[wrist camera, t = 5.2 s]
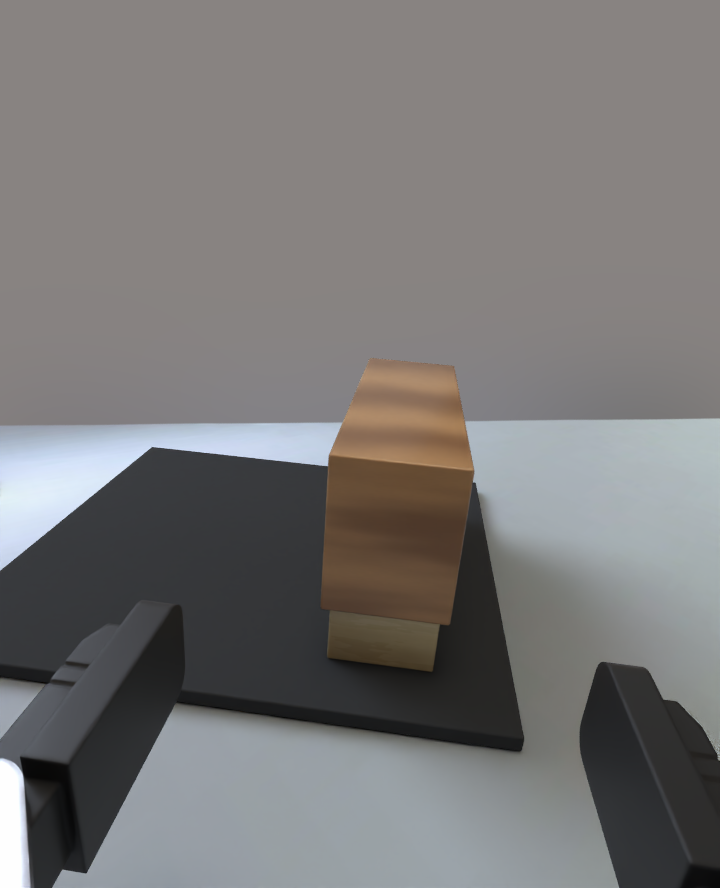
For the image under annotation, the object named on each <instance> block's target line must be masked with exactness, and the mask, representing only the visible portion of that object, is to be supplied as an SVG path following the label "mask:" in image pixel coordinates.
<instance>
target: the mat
mask: <svg viewBox="0 0 720 888" xmlns="http://www.w3.org/2000/svg"><path fill="white" fill-rule="evenodd" d="M327 479H328V466H319V465H310V464H301V463H292V462H283V461H274V460H264V459H255V458H246V457H237V456H228V455H219V454H210V453H201V452H192V451H183V450H174V449H165V448H156V447H152V448H151V449H149V450H148V451H147V452H146V453H144V454H143V455H142V456H141V457H140V458H138V459H137V460H136V461H135V462H133V463H132V464H131V465H130V466H128V467H127V468H126V469H125V470H124V471H122V472H121V473H120V474H119V475H117V476H116V477H115V478H114V479H112V480H111V481H110V482H109V483H108V484H106V485H105V486H104V487H103V488H101V489H100V490H99V491H98V492H97V493H95V494H94V495H93V496H92V497H90V498H89V499H88V500H87V501H85V502H84V503H83V504H82V505H81V506H79V507H78V508H77V509H76V510H74V511H73V512H72V513H71V514H69V515H68V516H67V517H66V518H65V519H63V520H62V521H61V522H60V523H58V524H57V525H56V526H55V527H54V528H52V529H51V530H50V531H49V532H47V533H46V534H45V535H44V536H42V537H41V538H40V539H39V540H38V541H36V542H35V543H34V544H33V545H31V546H30V547H29V548H28V549H27V550H25V551H24V552H23V553H22V554H20V555H19V556H18V557H17V558H15V559H14V560H13V561H12V562H11V563H9V564H8V565H7V566H6V567H4V568H3V569H2V570H1V571H0V676H4V677H11V678H18V679H25V680H32V681H39V682H46V683H50V679H51V678H52V676H53V675H54V674H55V673H56V672H57V670H58V669H59V668H60V667H61V666H64V664H65V661H66V660H67V658H68V657H69V656H70V655H71V653H72V652H73V651H74V650H75V649H76V647H77V646H78V645H79V644H80V643H81V641H82V640H83V639H85V638H86V637H88V636H89V635H91V634H92V633H94V632H95V631H97V630H98V629H100V628H101V627H103V626H105V625H106V624H108V623H111V624H118V625H120V624H121V623H122V622H123V621H124V619H125V618H126V617H127V615H128V614H129V613H130V611H131V610H132V609H133V607H134V606H135V605H136V604H137V603H138V602H139V601H141V600H147V601H155V602H162V603H170V604H178V605H180V606H181V608H182V613H183V630H184V650H185V675H184V681H183V685H182V688H181V692H180V694H179V697H178V699H177V702H184V703H191V704H198V705H205V706H212V707H219V708H226V709H233V710H240V711H247V712H254V713H260V714H267V715H274V716H281V717H288V718H295V719H302V720H309V721H316V722H323V723H330V724H337V725H344V726H350V727H357V728H364V729H371V730H378V731H385V732H392V733H399V734H406V735H413V736H420V737H427V738H434V739H440V740H447V741H454V742H461V743H468V744H475V745H482V746H489V747H496V748H503V749H510V750H517V751H521V750H522V746H523V742H524V735H523V730H522V725H521V719H520V714H519V709H518V704H517V698H516V693H515V688H514V683H513V677H512V672H511V667H510V661H509V656H508V651H507V646H506V640H505V635H504V630H503V625H502V619H501V614H500V609H499V604H498V598H497V593H496V588H495V583H494V577H493V572H492V567H491V562H490V556H489V551H488V546H487V540H486V535H485V530H484V525H483V519H482V514H481V509H480V504H479V498H478V493H477V488H476V483H473V484H472V490H471V496H470V503H469V509H468V515H467V521H466V528H465V534H464V540H463V546H462V553H461V559H460V565H459V571H458V578H457V584H456V590H455V597H454V603H453V609H452V615H451V622H450V624H449V625H441V624H440V627H439V634H438V640H437V647H436V654H435V660H434V667H433V671H432V672H428V671H421V670H414V669H406V668H399V667H391V666H384V665H377V664H369V663H362V662H355V661H347V660H340V659H332V658H328V657H327V648H328V632H329V616H330V610H325V609H321V607H320V605H321V587H322V569H323V551H324V533H325V515H326V497H327Z"/></svg>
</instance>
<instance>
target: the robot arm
mask: <svg viewBox="0 0 720 888" xmlns="http://www.w3.org/2000/svg"><path fill="white" fill-rule="evenodd" d="M184 675H185V650H184V630H183V613H182V608H181V606H180V605H178V604H170V603H162V602H155V601H147V600H141V601H139V602H138V603H137V604H136V605H135V606H134V607H133V609H132V610H131V611H130V613H129V614H128V615H127V617H126V618H125V619H124V621H123V622H122V623H121V624H120V625H118V624H111V623H108V624H106V625H105V626H103V627H101V628H100V629H98V630H97V631H95V632H94V633H92V634H91V635H89V636H88V637H86V638H85V639H83V640H82V641H81V643H80V644H79V645H78V646H77V647H76V649H75V650H74V651H73V652H72V653H71V655H70V656H69V657H68V658H67V660H66V661H65V664H64V666H61V667H60V668H59V669H58V670H57V672H56V673H55V674H54V675H53V676H52V678H51V679H50V683H49V684H46V685H45V686H44V687H43V689H42V690H41V691H40V692H39V693H38V695H37V696H36V697H35V698H34V699H33V701H32V702H31V703H30V704H29V705H28V707H27V708H26V709H25V710H24V712H23V713H22V714H21V715H20V716H19V718H18V719H17V720H16V721H15V722H14V724H13V725H12V726H11V727H10V728H9V730H8V731H7V732H6V733H5V734H4V736H3V737H2V738H1V739H0V888H52V887H53V885H54V883H55V881H56V879H57V878H58V876H59V874H60V872H61V871H62V869H63V870H69V871H75V872H81V873H87V871H88V869H89V867H90V866H91V864H92V862H93V860H94V858H95V856H96V854H97V852H98V850H99V848H100V846H101V844H102V843H103V841H104V839H105V837H106V835H107V833H108V831H109V829H110V827H111V825H112V823H113V822H114V820H115V818H116V816H117V814H118V812H119V810H120V808H121V806H122V804H123V802H124V801H125V799H126V797H127V795H128V793H129V791H130V789H131V787H132V785H133V783H134V781H135V780H136V778H137V776H138V774H139V772H140V770H141V768H142V766H143V764H144V762H145V760H146V759H147V757H148V755H149V753H150V751H151V749H152V747H153V745H154V743H155V741H156V739H157V738H158V736H159V734H160V732H161V730H162V728H163V726H164V724H165V722H166V720H167V718H168V717H169V715H170V713H171V711H172V709H173V707H174V705H175V703H176V701H177V699H178V697H179V694H180V692H181V688H182V685H183V681H184ZM580 751H581V757H582V761H583V765H584V768H585V772H586V775H587V779H588V782H589V785H590V789H591V792H592V796H593V799H594V802H595V806H596V809H597V813H598V816H599V820H600V823H601V826H602V830H603V833H604V837H605V840H606V844H607V847H608V850H609V854H610V857H611V861H612V864H613V867H614V871H615V874H616V878H617V881H618V885H619V888H720V761H718V758H717V756H718V755H717V753H716V751H715V750H714V748H713V746H712V744H711V742H710V741H709V739H708V737H707V735H706V733H705V731H704V730H703V728H702V727H701V725H700V724H699V723H698V722H697V721H696V720H695V719H694V718H693V717H692V716H691V715H690V714H689V713H688V712H687V711H686V710H685V709H684V708H683V707H682V706H681V705H680V704H679V703H678V702H676V701H669V700H663V698H662V696H661V694H660V692H659V690H658V688H657V686H656V684H655V682H654V680H653V678H652V676H651V675H650V673H649V671H648V670H647V669H646V668H644V667H638V666H631V665H623V664H616V663H608V662H601V663H600V664H599V665H598V667H597V669H596V672H595V675H594V679H593V682H592V686H591V689H590V693H589V696H588V700H587V703H586V707H585V710H584V714H583V717H582V721H581V726H580Z"/></svg>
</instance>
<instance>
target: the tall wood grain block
mask: <svg viewBox="0 0 720 888" xmlns="http://www.w3.org/2000/svg"><path fill="white" fill-rule="evenodd" d="M473 478H474V467H473V461H472V456H471V451H470V446H469V441H468V436H467V431H466V425H465V420H464V415H463V410H462V405H461V400H460V395H459V389H458V384H457V379H456V374H455V369H454V366H449V365H439V364H428V363H417V362H407V361H396V360H386V359H375V358H370V359H369V361H368V364H367V366H366V369H365V371H364V373H363V376H362V378H361V380H360V383H359V385H358V388H357V390H356V392H355V395H354V397H353V399H352V402H351V404H350V407H349V409H348V411H347V414H346V416H345V418H344V421H343V423H342V426H341V428H340V430H339V433H338V435H337V437H336V440H335V442H334V445H333V447H332V449H331V452H330V454H329V461H328V479H327V497H326V515H325V533H324V551H323V569H322V587H321V605H320V607H321V609H325V610H330V616H329V632H328V648H327V657H328V658H332V659H340V660H347V661H355V662H362V663H369V664H377V665H384V666H391V667H399V668H406V669H414V670H421V671H428V672H432V671H433V667H434V660H435V654H436V647H437V640H438V634H439V627H440V624H441V625H449V624H450V622H451V615H452V609H453V603H454V597H455V590H456V584H457V578H458V571H459V565H460V559H461V553H462V546H463V540H464V534H465V528H466V521H467V515H468V509H469V503H470V496H471V490H472V484H473Z"/></svg>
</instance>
